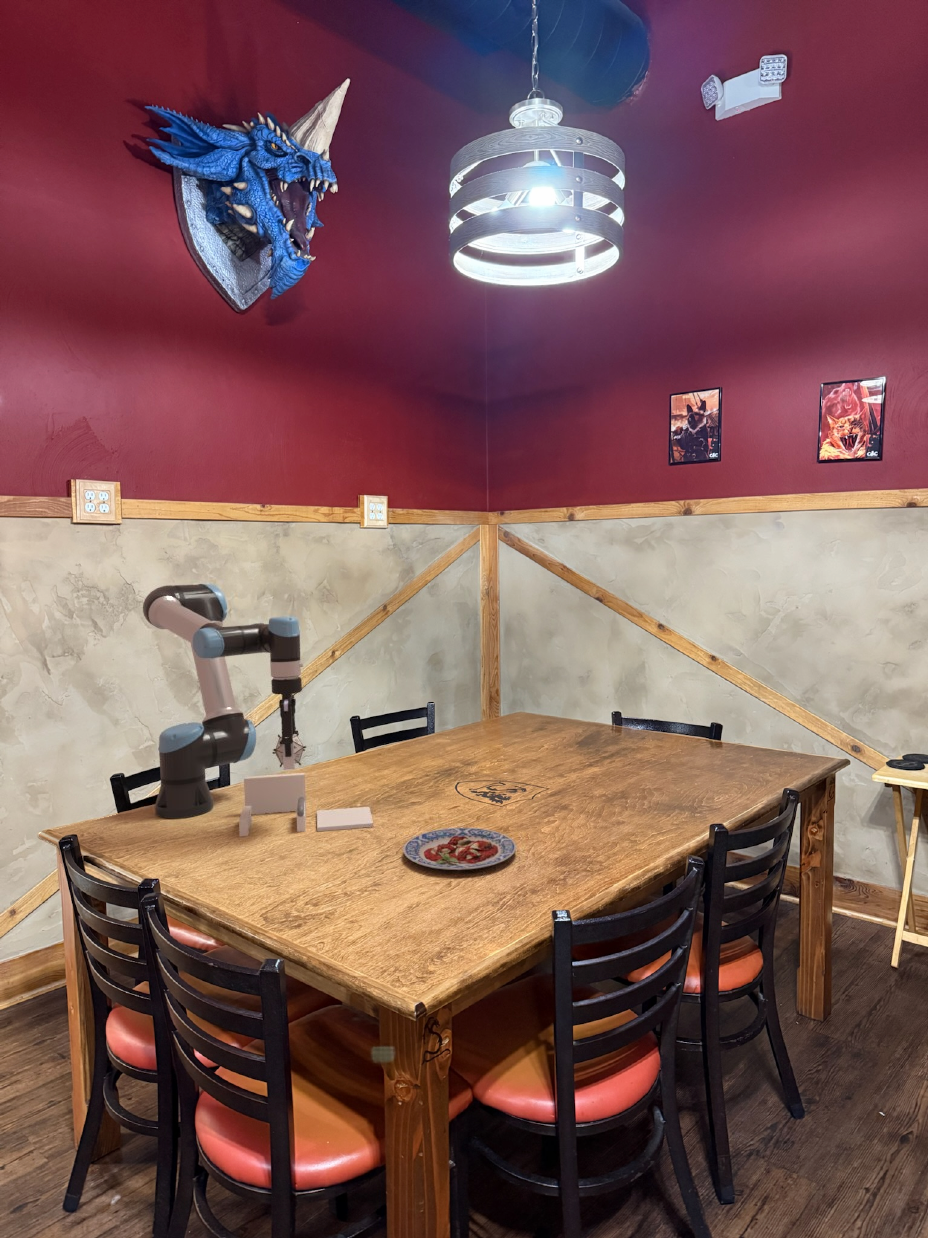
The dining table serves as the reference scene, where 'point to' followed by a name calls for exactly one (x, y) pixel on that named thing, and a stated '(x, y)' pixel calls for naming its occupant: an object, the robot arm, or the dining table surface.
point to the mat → (344, 819)
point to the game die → (297, 749)
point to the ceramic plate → (459, 848)
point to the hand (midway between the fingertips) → (290, 764)
